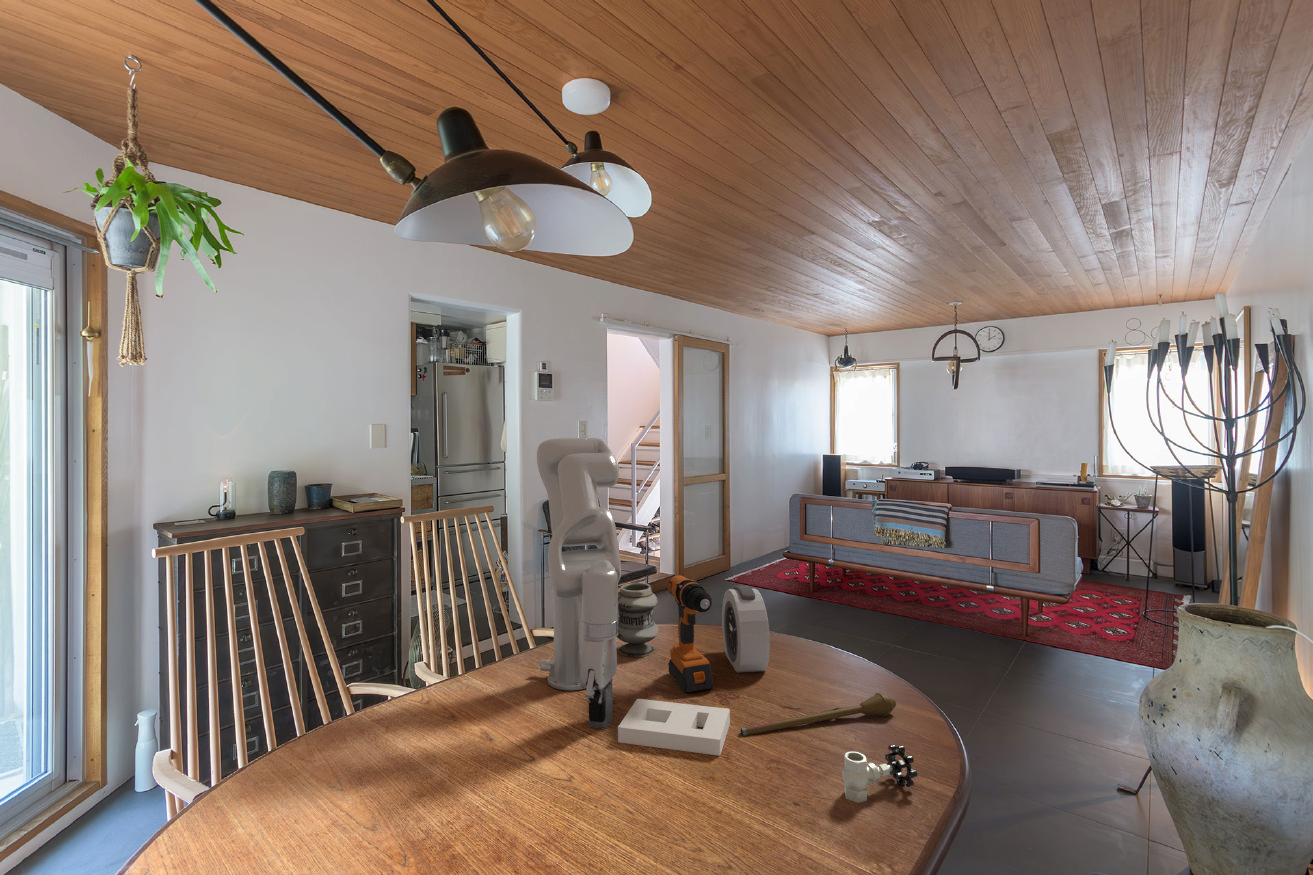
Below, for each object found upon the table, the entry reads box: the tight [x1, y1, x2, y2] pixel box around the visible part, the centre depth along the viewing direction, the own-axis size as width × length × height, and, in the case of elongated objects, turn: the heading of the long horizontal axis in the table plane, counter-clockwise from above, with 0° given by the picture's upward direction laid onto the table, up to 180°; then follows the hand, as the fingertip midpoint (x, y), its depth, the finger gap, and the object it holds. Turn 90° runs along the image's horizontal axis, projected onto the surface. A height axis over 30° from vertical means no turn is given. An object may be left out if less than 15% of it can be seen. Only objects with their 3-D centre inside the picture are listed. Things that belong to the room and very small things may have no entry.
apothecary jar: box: [616, 582, 659, 658], centre depth 167 cm, size 12×12×18 cm
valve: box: [841, 744, 918, 804], centre depth 101 cm, size 7×7×12 cm
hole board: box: [617, 698, 731, 757], centre depth 121 cm, size 20×13×3 cm, turn 75°
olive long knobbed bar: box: [739, 692, 897, 737], centre depth 124 cm, size 5×35×5 cm
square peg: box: [588, 681, 613, 730], centre depth 125 cm, size 4×4×8 cm
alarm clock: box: [721, 584, 771, 674], centre depth 158 cm, size 21×8×20 cm, turn 6°
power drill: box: [667, 574, 714, 693], centre depth 143 cm, size 22×7×25 cm, turn 16°
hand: (600, 715), depth 125 cm, fingers closed on square peg, 3 cm apart
